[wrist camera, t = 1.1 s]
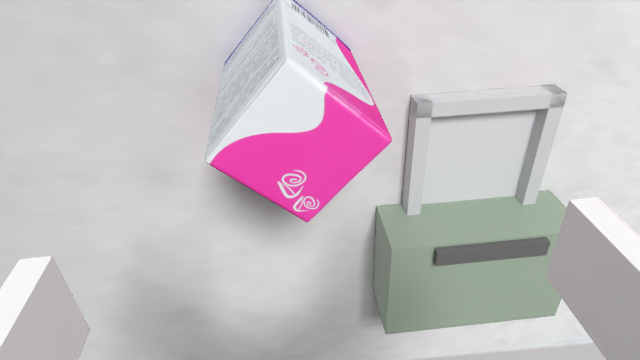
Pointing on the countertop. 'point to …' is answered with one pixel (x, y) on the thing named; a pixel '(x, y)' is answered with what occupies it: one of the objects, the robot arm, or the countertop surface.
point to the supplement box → (294, 112)
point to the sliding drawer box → (471, 212)
